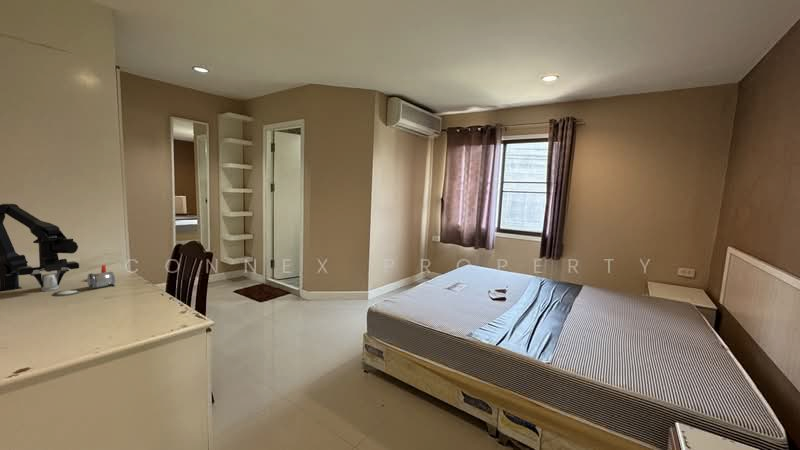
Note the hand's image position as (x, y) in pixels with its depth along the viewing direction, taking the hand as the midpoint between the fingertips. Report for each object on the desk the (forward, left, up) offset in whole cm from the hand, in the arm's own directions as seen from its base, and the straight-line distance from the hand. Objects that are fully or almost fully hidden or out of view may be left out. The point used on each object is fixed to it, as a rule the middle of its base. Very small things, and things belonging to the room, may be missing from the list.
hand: (50, 286), depth 146 cm
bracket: (-1, +17, -2) cm, 17 cm away
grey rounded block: (+12, +15, -2) cm, 19 cm away
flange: (+12, +3, -2) cm, 12 cm away
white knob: (0, 0, -2) cm, 2 cm away
